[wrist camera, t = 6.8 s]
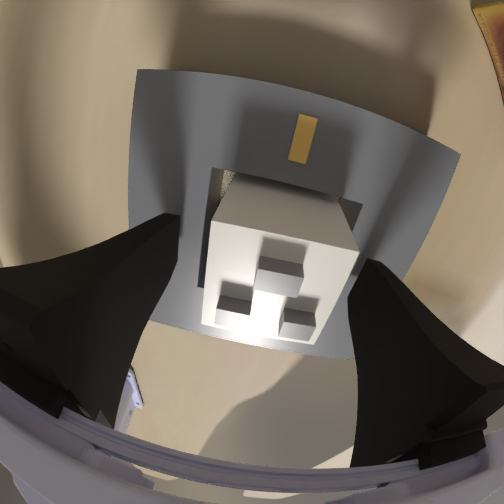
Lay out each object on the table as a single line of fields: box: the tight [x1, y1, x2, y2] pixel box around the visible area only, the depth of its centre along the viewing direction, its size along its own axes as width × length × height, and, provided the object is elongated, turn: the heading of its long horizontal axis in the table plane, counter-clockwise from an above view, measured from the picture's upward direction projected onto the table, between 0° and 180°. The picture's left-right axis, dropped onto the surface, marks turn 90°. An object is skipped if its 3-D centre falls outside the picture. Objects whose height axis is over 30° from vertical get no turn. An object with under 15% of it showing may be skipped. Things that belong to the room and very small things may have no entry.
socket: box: [128, 69, 461, 360], centre depth 12 cm, size 12×12×3 cm
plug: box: [201, 172, 359, 345], centre depth 10 cm, size 4×4×7 cm
